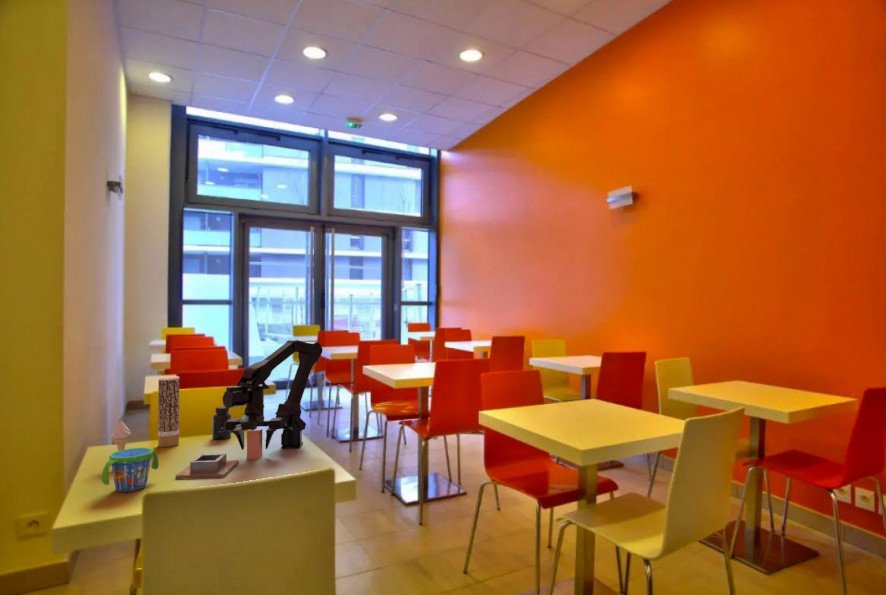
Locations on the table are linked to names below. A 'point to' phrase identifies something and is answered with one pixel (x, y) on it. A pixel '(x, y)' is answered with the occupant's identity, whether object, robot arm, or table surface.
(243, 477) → the table surface
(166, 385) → the paper tube
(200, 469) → the square socket base
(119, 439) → the ice cream cone
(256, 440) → the red post
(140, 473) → the snack cup
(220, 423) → the supplement bottle
